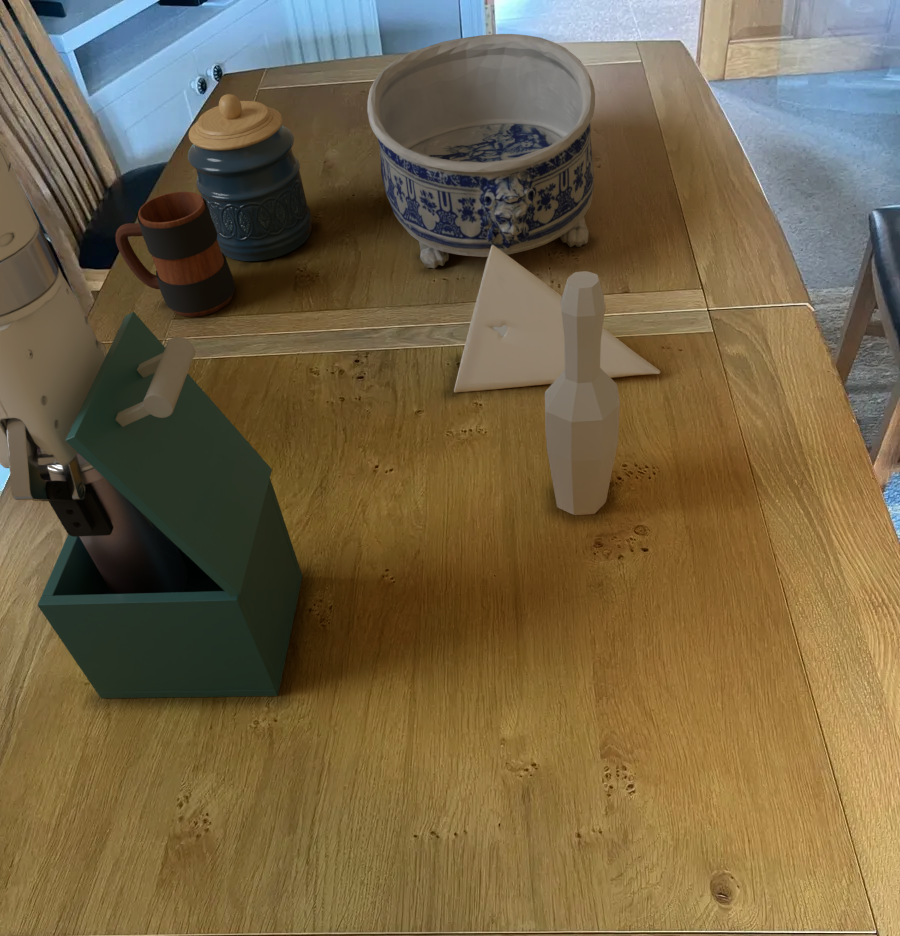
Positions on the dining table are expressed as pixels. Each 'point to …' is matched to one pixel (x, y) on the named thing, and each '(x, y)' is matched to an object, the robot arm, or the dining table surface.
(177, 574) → the beverage can
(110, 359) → the cool box lid
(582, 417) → the low poly bottle
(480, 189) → the decorative bowl
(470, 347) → the drafting triangle
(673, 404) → the dining table surface
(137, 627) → the cool box
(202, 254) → the mug
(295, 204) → the canister
